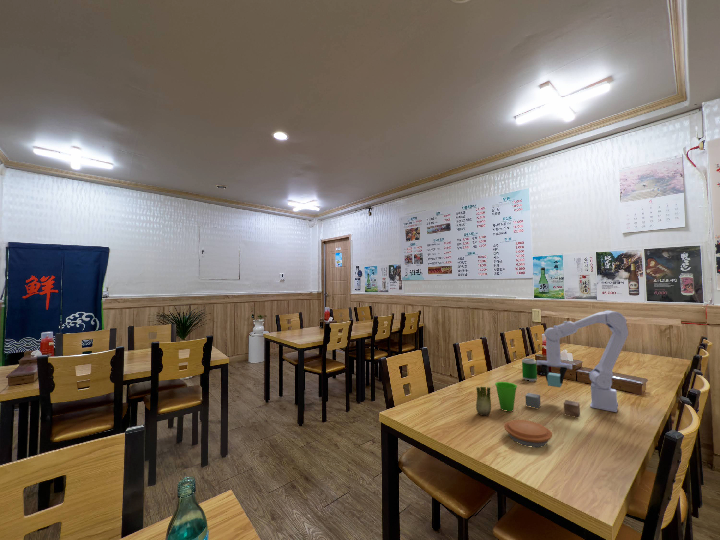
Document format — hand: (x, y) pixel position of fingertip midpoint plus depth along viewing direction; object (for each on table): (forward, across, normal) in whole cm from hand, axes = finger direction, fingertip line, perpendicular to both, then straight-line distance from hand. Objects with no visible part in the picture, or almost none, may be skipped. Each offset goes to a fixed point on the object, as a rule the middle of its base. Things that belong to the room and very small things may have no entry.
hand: (554, 382), depth 149 cm
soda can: (+10, +18, -31) cm, 37 cm away
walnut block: (+10, -8, +12) cm, 17 cm away
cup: (+10, +15, +24) cm, 30 cm away
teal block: (+1, 0, 0) cm, 1 cm away
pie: (+10, +1, +48) cm, 49 cm away
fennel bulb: (+10, +21, +36) cm, 43 cm away
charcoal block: (+10, +7, +12) cm, 17 cm away
